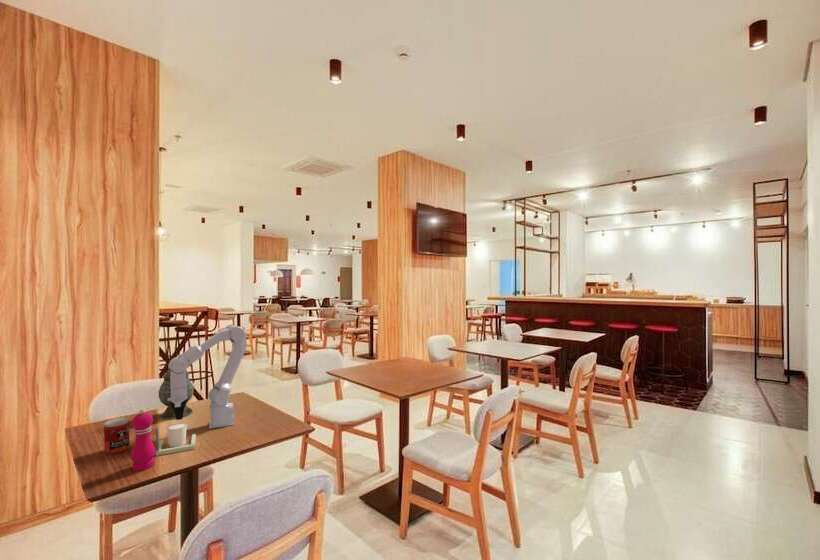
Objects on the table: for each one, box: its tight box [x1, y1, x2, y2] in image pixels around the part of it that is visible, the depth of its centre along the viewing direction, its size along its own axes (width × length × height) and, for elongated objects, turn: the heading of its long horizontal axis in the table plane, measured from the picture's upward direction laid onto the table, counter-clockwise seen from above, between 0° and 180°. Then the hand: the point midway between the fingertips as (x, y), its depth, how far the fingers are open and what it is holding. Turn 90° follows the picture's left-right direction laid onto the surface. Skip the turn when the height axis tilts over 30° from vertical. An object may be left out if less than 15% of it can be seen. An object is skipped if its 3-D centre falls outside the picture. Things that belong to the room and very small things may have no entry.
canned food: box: [103, 417, 130, 455], centre depth 149 cm, size 8×8×11 cm
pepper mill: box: [129, 408, 157, 472], centre depth 136 cm, size 7×7×20 cm
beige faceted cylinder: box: [166, 422, 188, 448], centre depth 154 cm, size 7×7×7 cm
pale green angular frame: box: [150, 427, 197, 457], centre depth 151 cm, size 15×12×10 cm
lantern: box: [158, 367, 195, 421], centre depth 187 cm, size 14×14×25 cm
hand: (179, 419), depth 163 cm, fingers closed
